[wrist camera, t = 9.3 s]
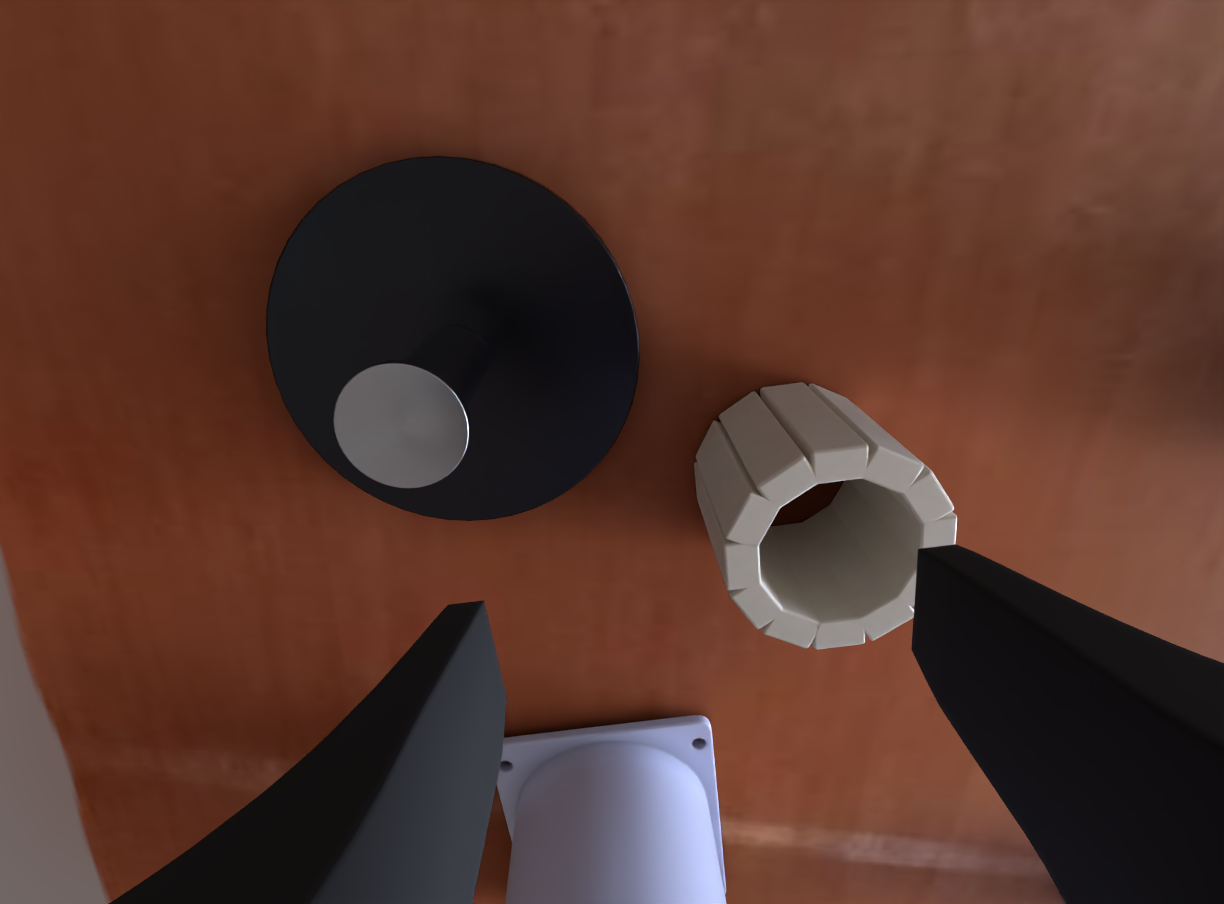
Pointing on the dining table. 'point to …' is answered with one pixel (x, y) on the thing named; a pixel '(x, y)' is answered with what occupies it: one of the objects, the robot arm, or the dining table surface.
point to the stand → (453, 338)
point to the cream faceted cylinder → (817, 516)
